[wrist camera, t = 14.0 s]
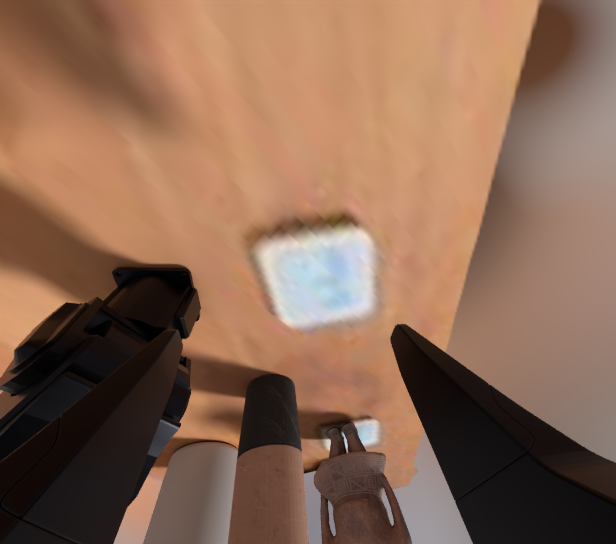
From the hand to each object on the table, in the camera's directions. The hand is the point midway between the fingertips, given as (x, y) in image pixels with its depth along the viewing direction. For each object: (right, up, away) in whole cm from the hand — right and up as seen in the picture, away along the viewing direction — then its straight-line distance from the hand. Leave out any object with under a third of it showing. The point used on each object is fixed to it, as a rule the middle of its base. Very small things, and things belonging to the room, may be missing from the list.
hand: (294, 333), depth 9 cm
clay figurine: (+7, -29, +35) cm, 46 cm away
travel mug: (-5, -15, +25) cm, 29 cm away
